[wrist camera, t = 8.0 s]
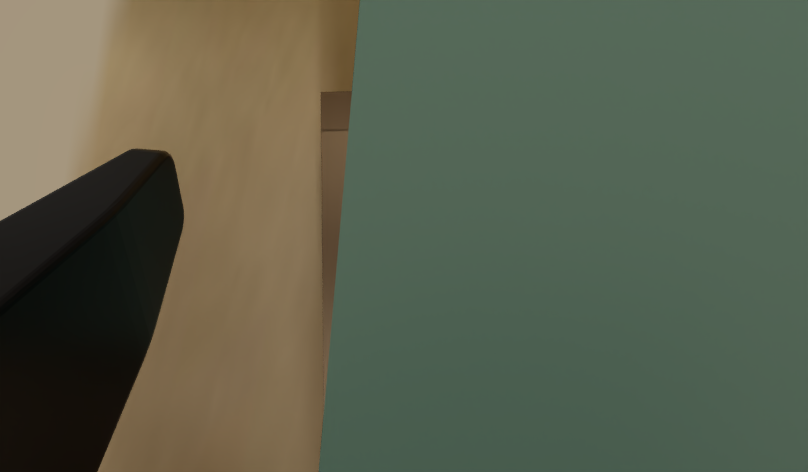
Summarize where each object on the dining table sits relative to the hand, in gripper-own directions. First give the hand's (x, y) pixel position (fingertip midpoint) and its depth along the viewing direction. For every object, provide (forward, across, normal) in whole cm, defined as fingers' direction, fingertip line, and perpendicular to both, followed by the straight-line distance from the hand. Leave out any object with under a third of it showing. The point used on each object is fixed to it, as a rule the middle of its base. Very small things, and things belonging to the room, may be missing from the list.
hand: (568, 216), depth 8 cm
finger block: (+5, 0, +6) cm, 8 cm away
